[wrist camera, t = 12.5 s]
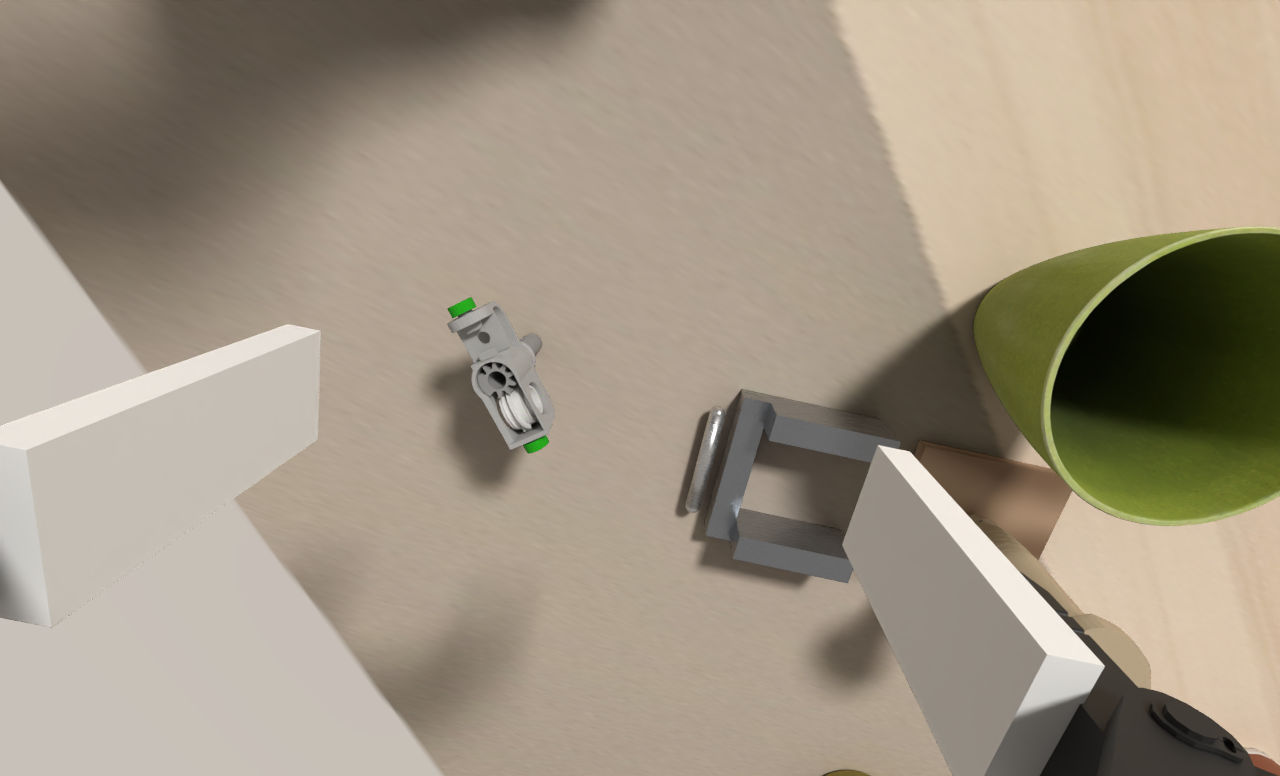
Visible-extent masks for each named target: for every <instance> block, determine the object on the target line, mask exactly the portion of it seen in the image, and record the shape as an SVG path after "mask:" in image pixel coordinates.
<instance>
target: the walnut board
mask: <svg viewBox="0 0 1280 776" xmlns="http://www.w3.org/2000/svg"><path fill="white" fill-rule="evenodd" d="M914 457H915V458H916V459H917V460H918V461H919V462H920V463H921V464H922V466H923V467H924V468H925V469H926V470H927V471H928V472H929V473H930V474H931V475H932V477H933V478H934V479H935V480H936V481H937V482H938V483H939V484H940V485H941V486H942V488H943V489H944V490H945V491H946V492H947V493H948V494H949V495H950V496H951V497H952V498H953V500H954V501H955V502H956V503H957V504H958V505H959V506H960V507H961V508H962V509H963V511H964V512H965V513H966V514H967V515H968V516H969V515H972V514H976V515H978V516H979V517H980V518H983V519H991V520H992V521H994V522H995V523H996V524H998V525H999V526H1000V527H1001V528H1002V529H1003V530H1005V531H1006V532H1007V533H1009V534H1010V535H1011V536H1012V537H1013V538H1015V539H1016V540H1017V541H1018V542H1019V543H1020V544H1022V545H1023V546H1024V547H1025V548H1026V549H1027V550H1028V551H1029V552H1030V553H1031V554H1032V555H1033V556H1034V557H1035V558H1036V559H1037V560H1038V559H1039V557H1040V555H1041V553H1042V551H1043V549H1044V547H1045V545H1046V543H1047V541H1048V539H1049V537H1050V535H1051V533H1052V531H1053V529H1054V527H1055V525H1056V523H1057V521H1058V519H1059V517H1060V515H1061V513H1062V511H1063V509H1064V507H1065V504H1066V502H1067V500H1068V498H1069V496H1070V494H1071V492H1072V490H1071V489H1070V488H1069V486H1068V485H1067V484H1066V483H1065V482H1064V481H1063V480H1062V479H1061V478H1060V477H1059V476H1058V475H1057V474H1056V473H1055V472H1054V471H1053V470H1052V469H1049V468H1045V467H1040V466H1035V465H1031V464H1026V463H1021V462H1017V461H1012V460H1008V459H1003V458H998V457H994V456H989V455H985V454H980V453H975V452H971V451H966V450H962V449H957V448H952V447H948V446H943V445H939V444H934V443H929V442H925V441H920V440H919V443H918V445H917V448H916V451H915V453H914Z"/></svg>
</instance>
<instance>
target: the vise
mask: <svg viewBox="0 0 1280 776" xmlns="http://www.w3.org/2000/svg"><path fill="white" fill-rule="evenodd" d="M724 419H725V411H724V409H723V408H722V407H719V406H715V407H713V408H712V409H711V410H710V413H709V417H708V421H707V425H706V428H705V432H704V436H703V440H702V443H701V447H700V451H699V455H698V459H697V462H696V466H695V470H694V474H693V477H692V481H691V485H690V489H689V492H688V496H687V500H686V504H685V506H686V509H687V510H688V511H689V512H691V513H695V512H697V511H698V510H699V509H700V506H701V502H702V499H703V495H704V492H705V488H706V484H707V481H708V477H709V473H710V470H711V466H712V462H713V459H714V455H715V451H716V448H717V444H718V440H719V437H720V433H721V430H722V426H723V422H724ZM763 429H764V430H765V432H766V435H767V437H768V440H769V441H773V442H777V443H782V444H787V445H791V446H796V447H801V448H805V449H810V450H814V451H819V452H824V453H828V454H833V455H838V456H842V457H847V458H851V459H856V460H861V461H865V462H870V463H872V460H873V457H874V454H875V451H876V449H877V446H878V445H880V446H885V447H890V448H895V449H899V447H900V444H901V441H900V440H899V439H898V438H897V437H896V436H895V435H894V433H893V432H892V431H891V430H890V429H889V428H888V427H887V426H886V425H885V424H884V423H883V422H882V421H881V420H880V419H877V418H872V417H868V416H863V415H859V414H854V413H849V412H845V411H840V410H836V409H831V408H826V407H822V406H817V405H813V404H808V403H803V402H799V401H794V400H790V399H785V398H780V397H776V396H771V395H767V394H762V393H757V392H753V391H748V390H744V389H742V390H741V393H740V397H739V401H738V404H737V408H736V411H735V415H734V418H733V422H732V426H731V429H730V433H729V436H728V440H727V444H726V447H725V451H724V454H723V458H722V461H721V465H720V469H719V472H718V476H717V479H716V483H715V486H714V490H713V494H712V497H711V501H710V504H709V508H708V512H707V515H706V519H705V522H704V524H705V534H706V536H709V537H714V538H718V539H723V540H728V541H730V544H731V550H732V556H733V559H736V560H740V561H745V562H750V563H755V564H759V565H764V566H769V567H773V568H778V569H783V570H787V571H792V572H797V573H802V574H806V575H811V576H816V577H820V578H825V579H830V580H835V581H839V582H844V583H848V581H849V579H850V576H851V574H852V571H853V567H852V565H851V563H850V561H849V559H848V556H847V554H846V552H845V550H844V548H843V546H842V544H843V541H844V536H843V534H842V532H841V530H839V529H835V528H830V527H825V526H820V525H816V524H811V523H806V522H802V521H797V520H792V519H788V518H783V517H778V516H774V515H769V514H764V513H760V512H755V511H750V510H746V509H741V508H740V506H741V502H742V499H743V496H744V492H745V489H746V486H747V482H748V479H749V476H750V472H751V469H752V465H753V462H754V459H755V455H756V452H757V449H758V445H759V442H760V439H761V435H762V432H763Z"/></svg>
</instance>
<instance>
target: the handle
mask: <svg viewBox="0 0 1280 776" xmlns="http://www.w3.org/2000/svg"><path fill="white" fill-rule="evenodd" d="M969 517H970V518H971V519H972V520H973V522H974V523H975V524H976V525H977V526H978V527H979V528H980V529H981V530H982V531H983V533H984V534H985V535H986V536H987V537H988V538H989V539H990V540H991V541H992V542H993V544H994V545H995V546H996V547H997V548H998V549H999V550H1000V551H1001V552H1002V553H1003V555H1004V556H1005V557H1006V558H1007V559H1008V560H1009V561H1010V562H1011V563H1012V564H1013V566H1014V567H1015V568H1016V569H1017V570H1018V571H1019V572H1022V573H1023V574H1025V575H1026V576H1027V577H1029V578H1030V579H1031V580H1033V581H1034V582H1036V583H1037V584H1038V585H1040V586H1041V587H1042V588H1044V589H1045V590H1047V591H1048V592H1049V593H1050V594H1051V595H1052V596H1053V597H1054V598H1055V599H1056V600H1057V601H1058V602H1059V604H1060V605H1061V606H1062V607H1063V608H1064V609H1065V610H1066V611H1067V612H1068V616H1069V617H1073V618H1074V620H1075V621H1076V622H1077V623H1078V624H1079V625H1080V626H1081V627H1082V628H1083V629H1084V630H1085V632H1084V633H1085V634H1087V635H1089V636H1090V637H1091V638H1092V639H1093V640H1094V641H1095V642H1096V643H1097V644H1098V645H1099V646H1100V647H1101V648H1102V649H1103V650H1104V652H1105V653H1106V654H1107V655H1108V656H1109V657H1110V658H1111V659H1112V660H1113V661H1114V662H1115V663H1116V664H1117V665H1118V666H1119V668H1120V669H1121V670H1122V671H1123V672H1124V673H1125V674H1126V675H1127V676H1128V677H1129V678H1130V679H1131V680H1132V681H1133V682H1134V684H1135V685H1136V686H1137V687H1138V688H1147V689H1151V670H1150V665H1149V663H1148V661H1147V659H1146V657H1145V656H1144V654H1143V653H1142V652H1141V650H1140V649H1139V647H1138V646H1137V645H1136V644H1135V643H1134V641H1133V640H1132V639H1131V638H1130V637H1129V636H1128V635H1127V634H1126V633H1125V632H1124V631H1122V630H1121V629H1120V628H1119V627H1117V626H1115V625H1114V624H1112V623H1110V622H1108V621H1106V620H1104V619H1103V618H1100V617H1098V616H1095V615H1093V614H1084V613H1083V612H1082V611H1081V610H1080V609H1079V607H1078V606H1077V605H1076V604H1075V603H1074V602H1073V601H1072V599H1071V598H1070V597H1069V596H1068V595H1067V594H1066V593H1065V591H1064V590H1063V589H1062V588H1061V587H1060V586H1059V584H1058V583H1057V582H1056V581H1055V580H1054V579H1053V577H1052V576H1051V575H1050V574H1049V573H1048V572H1047V571H1046V569H1045V568H1044V567H1043V566H1042V565H1041V564H1040V562H1039V561H1038V560H1037V559H1036V558H1035V557H1034V556H1033V555H1032V554H1031V553H1030V552H1029V551H1028V550H1027V549H1026V548H1025V547H1024V546H1023V545H1022V544H1020V543H1019V542H1018V541H1017V540H1016V539H1015V538H1013V537H1012V536H1011V535H1010V534H1009V533H1007V532H1006V531H1005V530H1003V529H1002V528H1001V527H1000V526H999V525H998V524H996V523H995V522H994V521H992V520H991V519H983V518H980V517H979V516H978V515H976V514H972V515H969Z"/></svg>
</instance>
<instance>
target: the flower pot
mask: <svg viewBox="0 0 1280 776" xmlns="http://www.w3.org/2000/svg"><path fill="white" fill-rule="evenodd" d="M973 333H974V339H975V344H976V348H977V351H978V354H979V358H980V360H981V363H982V366H983V368H984V370H985V373H986V375H987V377H988V379H989V381H990V383H991V385H992V387H993V389H994V391H995V393H996V394H997V396H998V398H999V399H1000V401H1001V403H1002V405H1003V406H1004V408H1005V409H1006V411H1007V412H1008V414H1009V415H1010V417H1011V418H1012V420H1013V421H1014V423H1015V424H1016V426H1017V427H1018V428H1019V430H1020V431H1021V432H1022V434H1023V435H1024V436H1025V438H1026V439H1027V440H1028V442H1029V443H1030V444H1031V445H1032V447H1033V448H1034V449H1035V450H1036V451H1037V452H1038V454H1039V455H1040V456H1041V457H1042V458H1043V459H1044V460H1045V462H1046V463H1047V464H1048V465H1049V466H1050V467H1051V468H1052V470H1053V471H1054V472H1055V473H1056V474H1057V475H1058V476H1059V477H1060V478H1061V479H1062V480H1063V481H1064V482H1065V483H1066V484H1067V485H1068V486H1069V488H1070V489H1071V490H1072V491H1074V492H1075V493H1076V494H1077V495H1078V496H1079V497H1080V498H1082V499H1083V500H1084V501H1086V502H1087V503H1089V504H1090V505H1092V506H1093V507H1095V508H1097V509H1099V510H1101V511H1103V512H1105V513H1107V514H1109V515H1112V516H1114V517H1117V518H1120V519H1124V520H1127V521H1131V522H1135V523H1141V524H1148V525H1158V526H1182V525H1195V524H1202V523H1207V522H1213V521H1217V520H1221V519H1225V518H1228V517H1232V516H1235V515H1238V514H1241V513H1244V512H1246V511H1249V510H1251V509H1254V508H1256V507H1259V506H1261V505H1263V504H1265V503H1267V502H1269V501H1271V500H1273V499H1275V498H1277V497H1279V496H1280V228H1271V227H1236V228H1223V229H1212V230H1201V231H1190V232H1180V233H1171V234H1162V235H1155V236H1148V237H1141V238H1135V239H1129V240H1123V241H1118V242H1113V243H1108V244H1103V245H1099V246H1094V247H1090V248H1086V249H1082V250H1078V251H1075V252H1071V253H1067V254H1064V255H1061V256H1058V257H1055V258H1052V259H1049V260H1046V261H1043V262H1041V263H1038V264H1035V265H1033V266H1030V267H1028V268H1026V269H1023V270H1021V271H1019V272H1017V273H1015V274H1013V275H1011V276H1009V277H1007V278H1005V279H1004V280H1002V281H1001V282H999V283H998V284H997V285H995V286H994V287H993V288H992V289H991V290H990V291H989V292H988V293H987V295H986V296H985V297H984V299H983V300H982V301H981V303H980V305H979V307H978V309H977V312H976V315H975V318H974V326H973Z"/></svg>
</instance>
